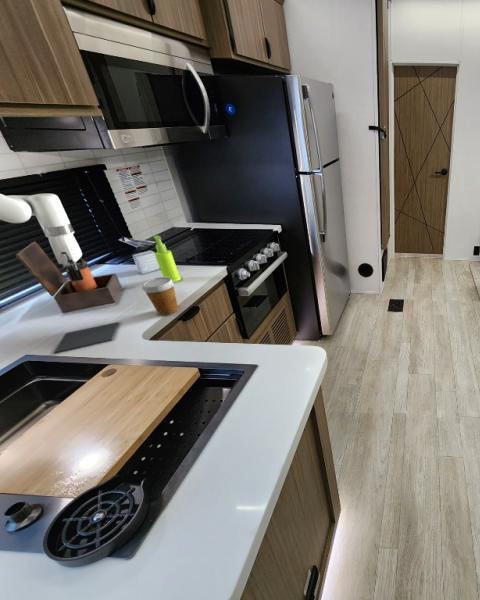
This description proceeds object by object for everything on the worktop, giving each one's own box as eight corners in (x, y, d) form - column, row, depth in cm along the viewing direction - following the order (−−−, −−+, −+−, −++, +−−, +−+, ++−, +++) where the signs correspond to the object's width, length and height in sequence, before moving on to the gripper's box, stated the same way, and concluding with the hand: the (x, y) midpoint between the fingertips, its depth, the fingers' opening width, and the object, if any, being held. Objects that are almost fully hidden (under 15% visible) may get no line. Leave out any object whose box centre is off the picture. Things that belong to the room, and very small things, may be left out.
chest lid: (35, 241, 121) (32, 242, 121) (18, 254, 109) (15, 255, 109) (67, 279, 130) (64, 280, 130) (54, 295, 118) (51, 296, 117)
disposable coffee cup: (174, 302, 129) (163, 274, 123) (188, 308, 124) (177, 279, 119) (148, 313, 122) (135, 284, 116) (161, 320, 117) (149, 290, 112)
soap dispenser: (177, 275, 152) (162, 233, 142) (182, 280, 147) (166, 236, 138) (163, 279, 148) (146, 236, 139) (167, 284, 144) (150, 239, 134)
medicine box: (157, 266, 161) (150, 250, 157) (161, 268, 159) (154, 251, 155) (138, 272, 156) (131, 254, 152) (142, 274, 153) (135, 256, 149)
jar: (73, 293, 123) (60, 268, 119) (77, 286, 129) (66, 262, 124) (95, 289, 126) (84, 265, 122) (99, 283, 131) (88, 260, 127)
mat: (54, 353, 101) (54, 352, 101) (66, 334, 110) (66, 333, 110) (111, 340, 107) (111, 339, 106) (118, 322, 116) (117, 322, 116)
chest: (122, 289, 140) (115, 273, 136) (116, 304, 128) (108, 287, 124) (75, 297, 133) (66, 281, 130) (63, 314, 121) (53, 297, 118)
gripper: (52, 226, 122) (74, 270, 130) (35, 238, 109) (60, 287, 117) (79, 223, 125) (98, 267, 134) (65, 235, 112) (87, 283, 120)
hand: (80, 276), depth 125 cm, fingers closed on jar, 6 cm apart
